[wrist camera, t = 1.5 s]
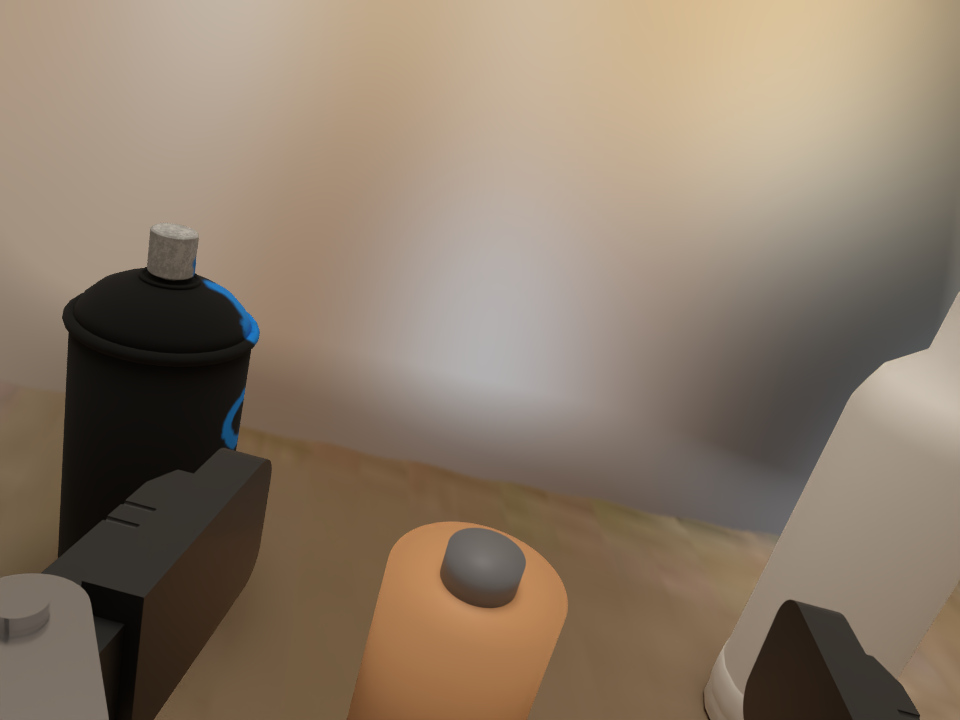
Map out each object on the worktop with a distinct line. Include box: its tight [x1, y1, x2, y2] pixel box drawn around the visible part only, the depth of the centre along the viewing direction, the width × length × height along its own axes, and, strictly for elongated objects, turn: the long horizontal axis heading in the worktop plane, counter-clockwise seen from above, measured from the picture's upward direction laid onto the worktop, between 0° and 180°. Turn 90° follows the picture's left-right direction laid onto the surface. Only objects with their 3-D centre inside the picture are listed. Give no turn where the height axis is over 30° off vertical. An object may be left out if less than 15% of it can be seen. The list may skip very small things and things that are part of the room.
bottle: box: [704, 291, 960, 720], centre depth 37 cm, size 8×8×30 cm
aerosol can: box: [58, 223, 260, 558], centre depth 36 cm, size 8×8×20 cm
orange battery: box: [347, 522, 568, 720], centre depth 24 cm, size 6×6×10 cm
